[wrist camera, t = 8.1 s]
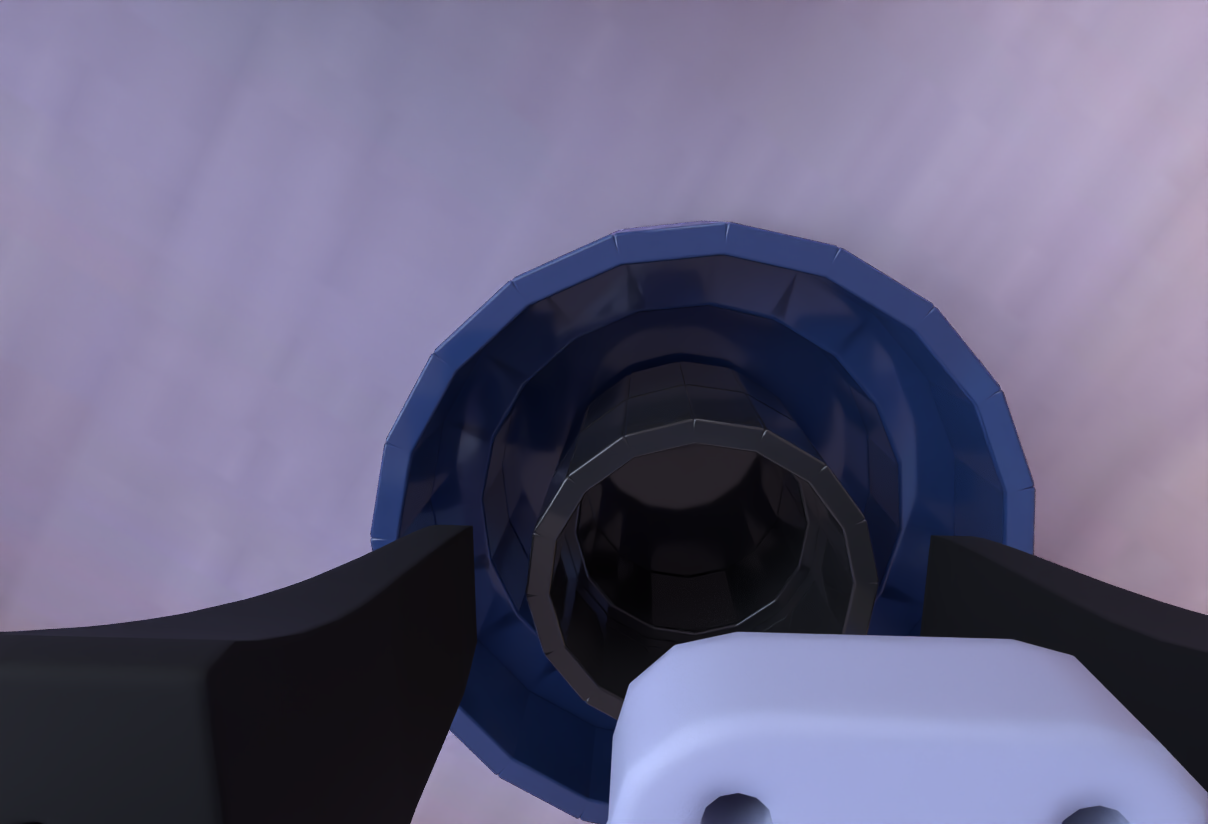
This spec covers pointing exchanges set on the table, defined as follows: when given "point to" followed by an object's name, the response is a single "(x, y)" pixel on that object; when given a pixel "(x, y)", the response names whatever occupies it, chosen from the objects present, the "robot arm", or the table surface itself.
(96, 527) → the table surface
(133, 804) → the robot arm
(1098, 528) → the table surface
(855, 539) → the dark grey hollow cylinder
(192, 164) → the table surface
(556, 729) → the big bowl
